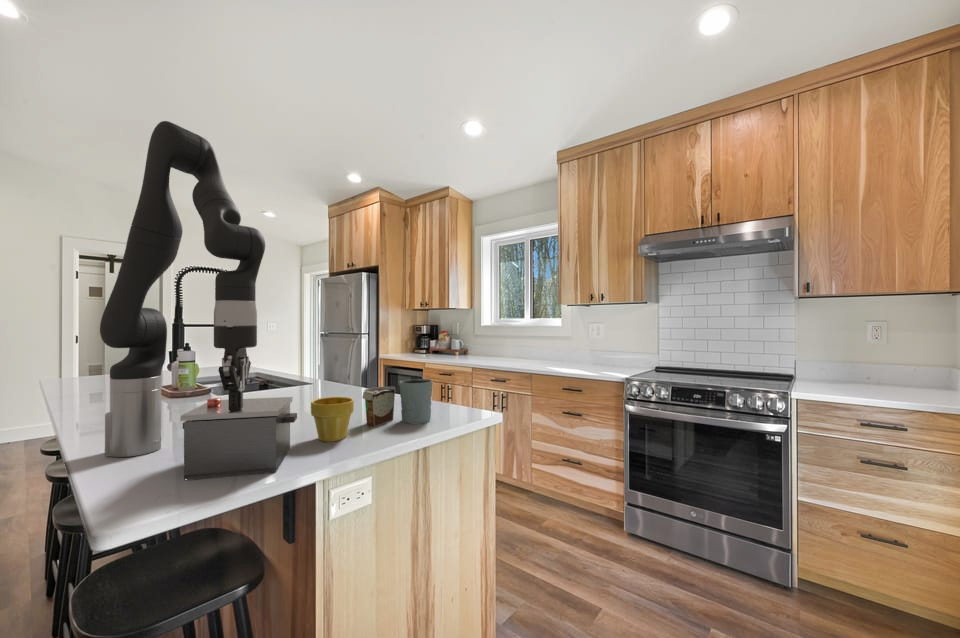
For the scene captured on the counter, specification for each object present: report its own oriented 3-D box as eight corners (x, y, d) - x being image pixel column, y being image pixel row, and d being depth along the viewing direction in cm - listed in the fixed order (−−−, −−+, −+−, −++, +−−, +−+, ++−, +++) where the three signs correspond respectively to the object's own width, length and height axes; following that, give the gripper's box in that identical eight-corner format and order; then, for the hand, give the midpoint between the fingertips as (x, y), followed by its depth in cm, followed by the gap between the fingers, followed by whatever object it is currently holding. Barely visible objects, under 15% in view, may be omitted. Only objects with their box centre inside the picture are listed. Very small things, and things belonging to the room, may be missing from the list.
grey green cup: (405, 425, 121) (405, 384, 121) (394, 418, 130) (394, 379, 130) (438, 421, 126) (438, 381, 126) (425, 415, 135) (425, 377, 135)
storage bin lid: (180, 421, 79) (180, 407, 79) (211, 404, 95) (211, 393, 95) (278, 415, 84) (278, 403, 84) (292, 401, 100) (292, 390, 100)
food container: (379, 417, 132) (379, 385, 132) (396, 419, 129) (396, 386, 129) (353, 426, 120) (353, 391, 120) (371, 428, 118) (371, 393, 118)
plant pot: (345, 444, 103) (345, 404, 103) (303, 443, 103) (303, 404, 103) (358, 432, 114) (358, 396, 114) (320, 432, 114) (320, 396, 114)
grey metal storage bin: (169, 481, 79) (169, 422, 79) (201, 455, 95) (201, 406, 95) (289, 471, 85) (289, 416, 85) (300, 447, 100) (301, 401, 100)
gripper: (225, 323, 90) (225, 405, 90) (202, 324, 77) (202, 418, 77) (264, 323, 92) (264, 403, 92) (247, 323, 79) (247, 416, 79)
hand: (235, 410), depth 84 cm, fingers closed
